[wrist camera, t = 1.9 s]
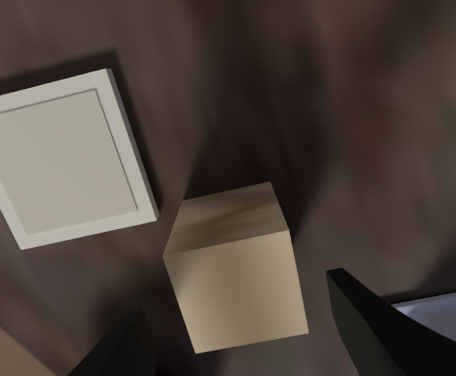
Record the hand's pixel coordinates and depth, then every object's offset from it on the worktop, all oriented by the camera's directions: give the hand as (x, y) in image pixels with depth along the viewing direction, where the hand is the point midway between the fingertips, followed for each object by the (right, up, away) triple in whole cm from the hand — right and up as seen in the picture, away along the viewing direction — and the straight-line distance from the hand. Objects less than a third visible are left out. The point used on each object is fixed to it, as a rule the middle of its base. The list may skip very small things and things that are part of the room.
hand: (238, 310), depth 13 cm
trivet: (-9, +6, +5) cm, 12 cm away
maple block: (0, +2, +6) cm, 7 cm away
